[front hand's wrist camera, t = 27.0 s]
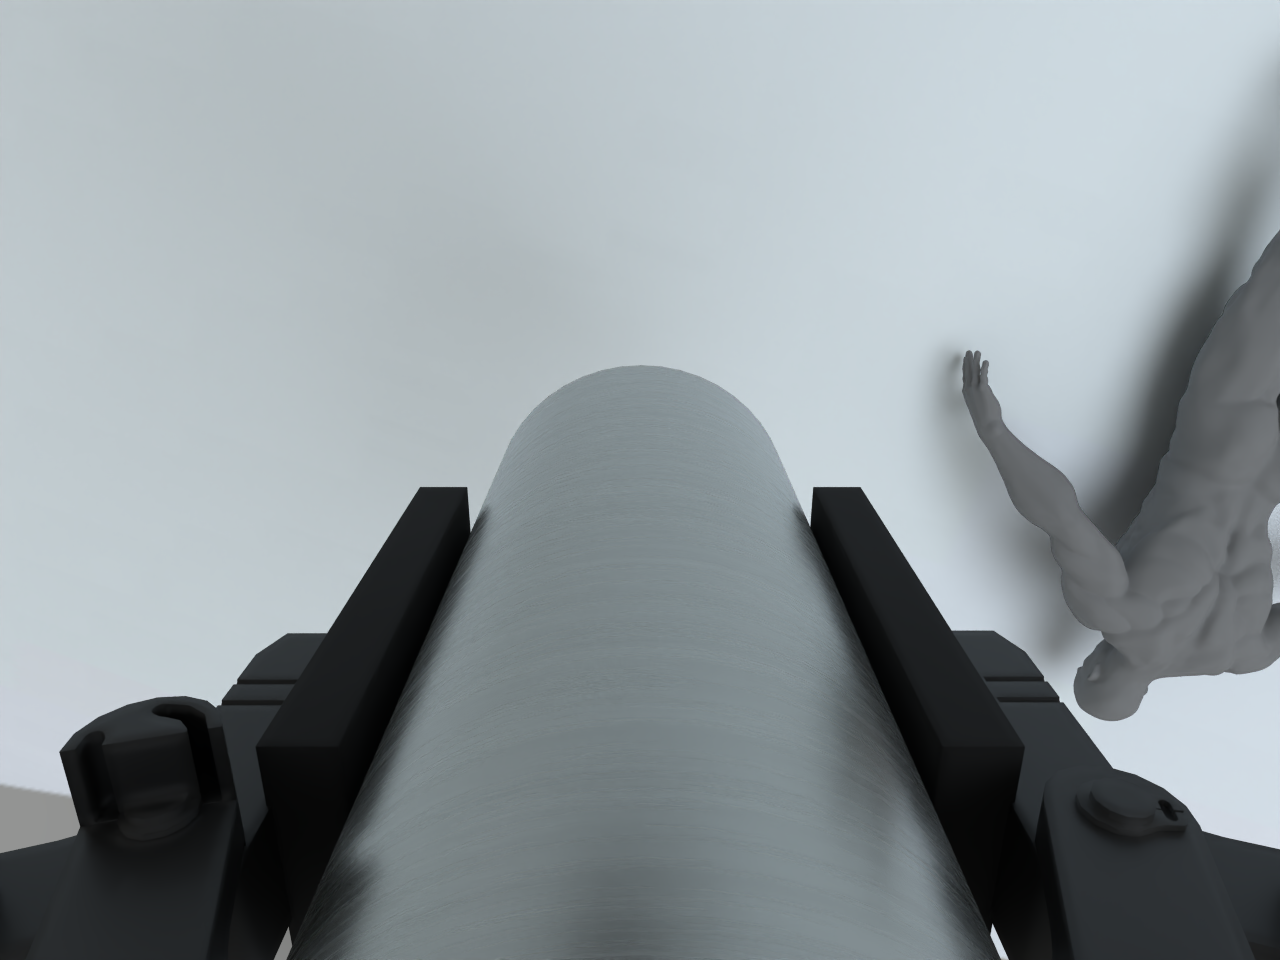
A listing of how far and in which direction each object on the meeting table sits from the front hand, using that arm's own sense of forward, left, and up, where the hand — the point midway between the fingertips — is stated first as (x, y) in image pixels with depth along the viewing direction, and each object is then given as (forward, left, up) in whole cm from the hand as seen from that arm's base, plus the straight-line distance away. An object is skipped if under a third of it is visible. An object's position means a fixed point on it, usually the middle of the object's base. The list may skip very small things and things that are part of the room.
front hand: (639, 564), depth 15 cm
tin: (0, 0, -3) cm, 3 cm away
